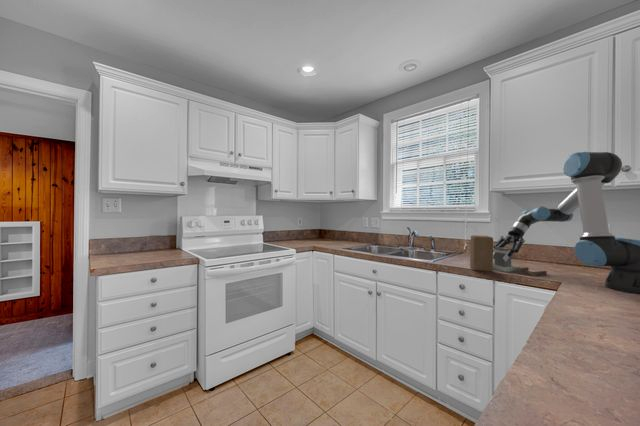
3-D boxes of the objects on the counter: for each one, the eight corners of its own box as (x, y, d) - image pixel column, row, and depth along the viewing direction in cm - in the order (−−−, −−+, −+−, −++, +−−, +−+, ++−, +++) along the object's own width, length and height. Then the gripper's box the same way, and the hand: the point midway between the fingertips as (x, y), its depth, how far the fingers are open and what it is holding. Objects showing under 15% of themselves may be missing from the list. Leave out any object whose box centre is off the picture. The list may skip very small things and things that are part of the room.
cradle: (546, 274, 155) (546, 271, 155) (534, 276, 151) (534, 272, 151) (526, 270, 164) (526, 267, 164) (515, 271, 161) (515, 268, 161)
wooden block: (473, 270, 163) (474, 236, 163) (469, 267, 172) (470, 235, 172) (493, 272, 160) (493, 237, 160) (488, 268, 170) (488, 235, 169)
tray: (519, 270, 165) (520, 266, 165) (505, 272, 160) (505, 267, 160) (499, 266, 176) (500, 262, 176) (485, 267, 172) (485, 263, 172)
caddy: (511, 268, 166) (511, 248, 166) (503, 269, 164) (504, 249, 164) (501, 266, 172) (501, 247, 172) (494, 267, 170) (494, 247, 170)
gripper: (537, 236, 164) (518, 266, 159) (505, 233, 183) (486, 259, 177) (531, 228, 162) (511, 257, 157) (499, 225, 181) (480, 252, 175)
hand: (498, 258), depth 167 cm, fingers open, 7 cm apart
